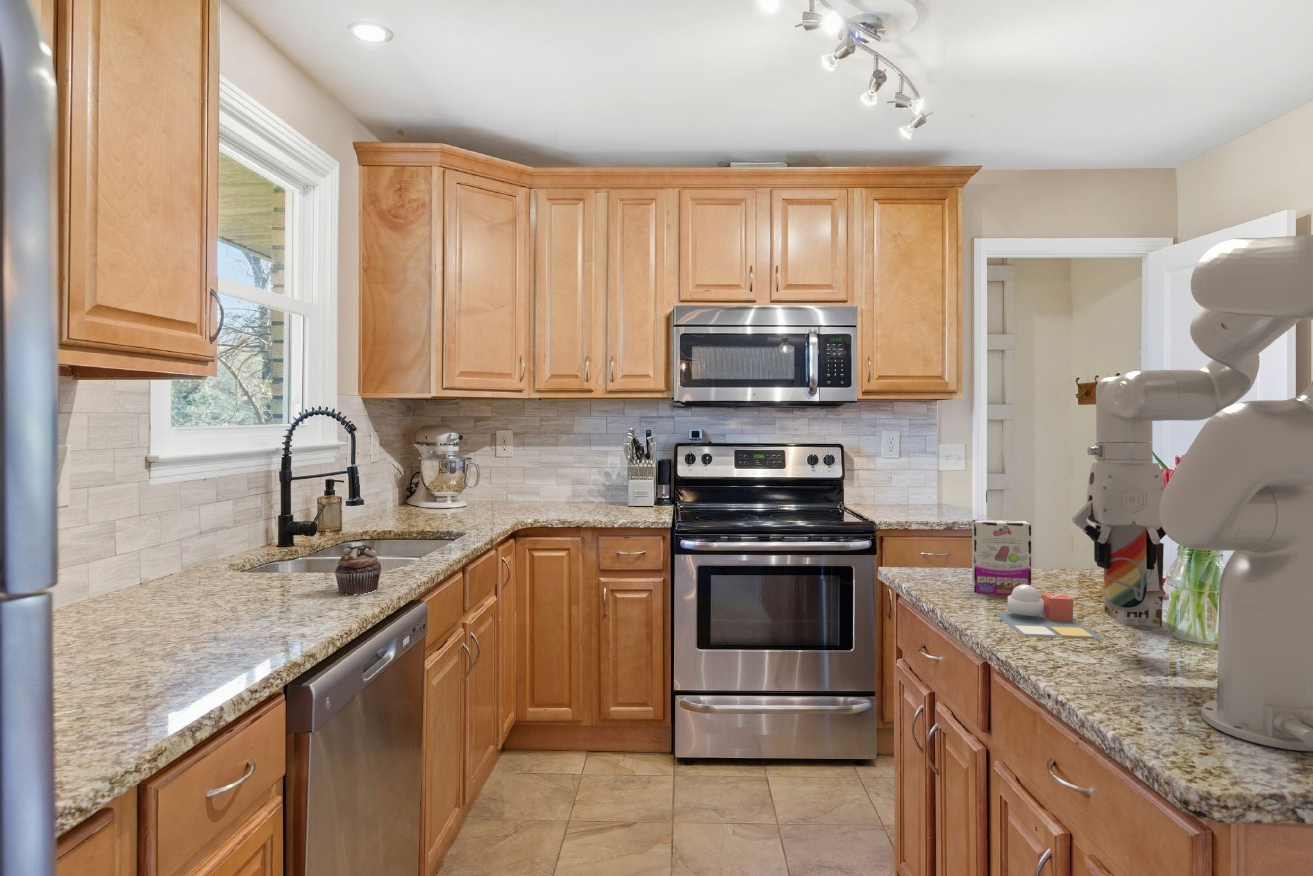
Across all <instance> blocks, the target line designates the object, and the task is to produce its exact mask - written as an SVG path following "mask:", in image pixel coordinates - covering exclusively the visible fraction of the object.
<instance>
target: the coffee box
mask: <svg viewBox="0 0 1313 876" xmlns="http://www.w3.org/2000/svg"><path fill="white" fill-rule="evenodd" d="M1164 545H1165V543H1162V542H1160V543H1159V544H1156V563H1155V564H1154V570H1149V569H1147V609H1146V611H1142V612H1128V611H1119V610H1114V609H1110V608H1107V607H1106V606H1105V605H1104V614H1106V615H1107V616H1110V617H1111V618H1113V619H1114V620H1116V621H1117V622H1119V623H1121V624H1122V625H1123V626H1135V627H1153V628H1155V627H1157V628H1158V627H1159V628H1162V627H1163V596H1162V594H1163V589H1164V585H1163V578H1164V547H1165V546H1164ZM1163 595H1164V594H1163Z"/></svg>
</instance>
